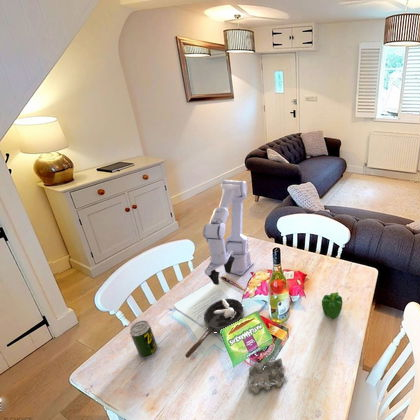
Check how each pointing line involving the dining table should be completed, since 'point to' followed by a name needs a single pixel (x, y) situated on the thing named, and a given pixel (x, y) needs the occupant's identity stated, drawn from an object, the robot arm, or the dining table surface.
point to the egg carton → (266, 375)
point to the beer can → (143, 339)
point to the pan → (218, 319)
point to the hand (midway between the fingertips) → (222, 278)
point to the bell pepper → (332, 305)
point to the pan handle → (199, 342)
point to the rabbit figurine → (226, 310)
